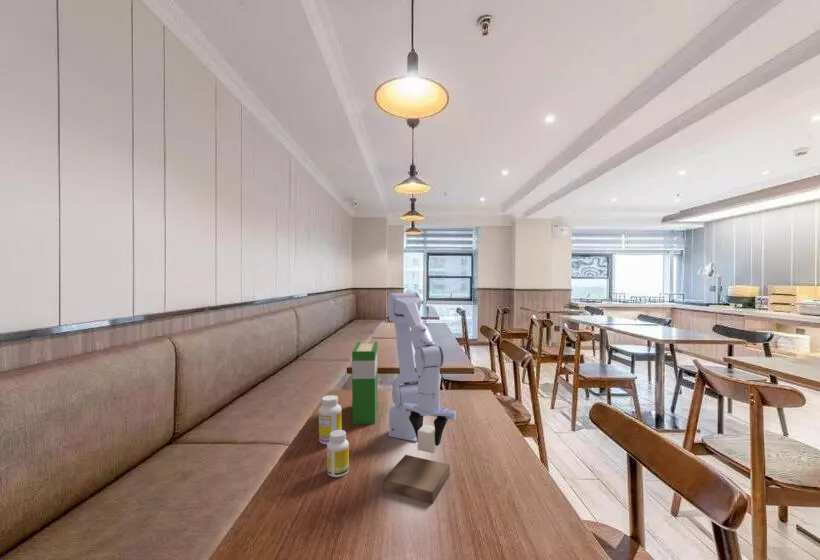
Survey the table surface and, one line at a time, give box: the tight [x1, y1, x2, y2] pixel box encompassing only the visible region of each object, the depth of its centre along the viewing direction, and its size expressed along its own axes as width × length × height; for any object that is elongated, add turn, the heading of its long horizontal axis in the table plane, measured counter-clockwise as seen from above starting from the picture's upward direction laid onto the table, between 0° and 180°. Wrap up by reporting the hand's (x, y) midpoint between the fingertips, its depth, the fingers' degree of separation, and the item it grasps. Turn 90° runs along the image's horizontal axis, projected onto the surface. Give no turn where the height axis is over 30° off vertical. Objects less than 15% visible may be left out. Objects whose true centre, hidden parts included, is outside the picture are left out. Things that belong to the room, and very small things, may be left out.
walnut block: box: [383, 454, 451, 504], centre depth 84 cm, size 12×12×2 cm
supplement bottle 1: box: [318, 394, 343, 446], centre depth 105 cm, size 7×7×13 cm
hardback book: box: [351, 341, 379, 425], centre depth 125 cm, size 18×7×24 cm, turn 2°
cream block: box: [417, 423, 441, 454], centre depth 93 cm, size 4×4×5 cm
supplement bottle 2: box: [326, 429, 350, 478], centre depth 88 cm, size 5×5×10 cm
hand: (428, 442), depth 93 cm, fingers closed on cream block, 4 cm apart
